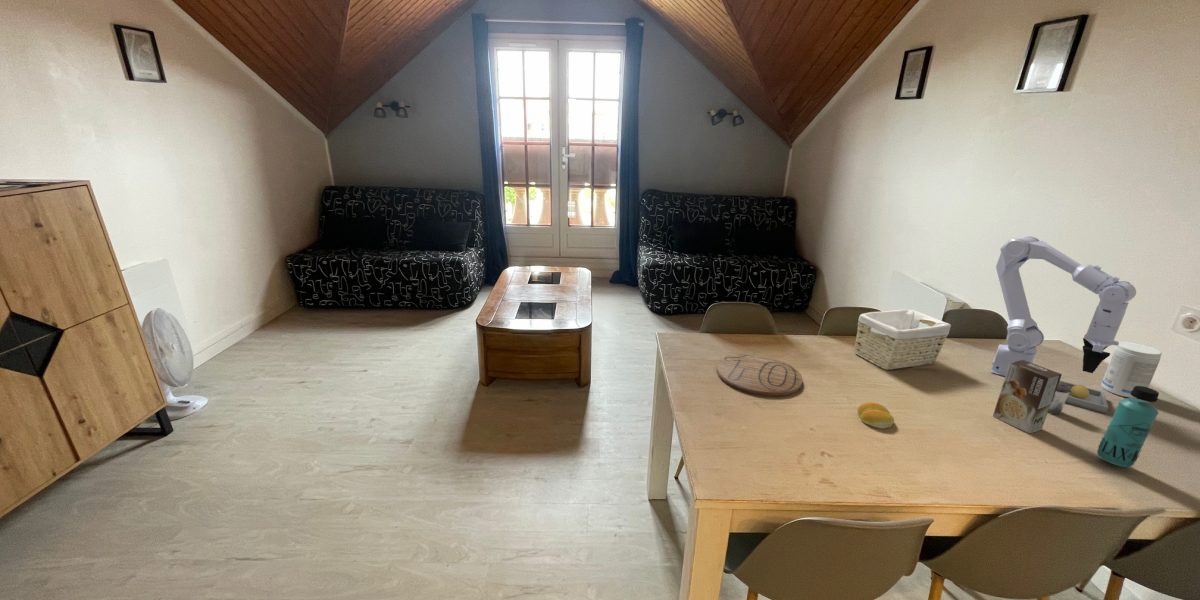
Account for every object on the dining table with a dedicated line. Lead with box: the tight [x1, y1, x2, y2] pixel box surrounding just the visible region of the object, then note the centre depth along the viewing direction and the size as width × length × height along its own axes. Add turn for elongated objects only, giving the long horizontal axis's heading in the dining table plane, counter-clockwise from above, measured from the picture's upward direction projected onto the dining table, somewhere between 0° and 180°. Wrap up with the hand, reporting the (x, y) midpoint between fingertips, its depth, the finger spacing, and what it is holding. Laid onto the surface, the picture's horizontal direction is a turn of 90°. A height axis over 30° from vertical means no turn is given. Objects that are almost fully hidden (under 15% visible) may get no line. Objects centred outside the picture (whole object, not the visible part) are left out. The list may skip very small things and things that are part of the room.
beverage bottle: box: [1096, 386, 1160, 468], centre depth 114 cm, size 6×7×20 cm
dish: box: [1060, 380, 1109, 415], centre depth 147 cm, size 12×12×2 cm
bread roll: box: [857, 401, 895, 429], centre depth 131 cm, size 8×9×4 cm
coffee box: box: [992, 360, 1062, 434], centre depth 130 cm, size 9×6×16 cm
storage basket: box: [853, 309, 952, 371], centre depth 166 cm, size 24×16×15 cm
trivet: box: [716, 353, 803, 398], centre depth 152 cm, size 25×25×2 cm
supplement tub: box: [1100, 341, 1163, 399], centre depth 150 cm, size 10×10×15 cm
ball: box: [1070, 384, 1089, 399], centre depth 145 cm, size 4×4×4 cm
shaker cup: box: [1048, 380, 1072, 416], centre depth 138 cm, size 5×5×8 cm
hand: (1087, 367), depth 144 cm, fingers open, 7 cm apart
